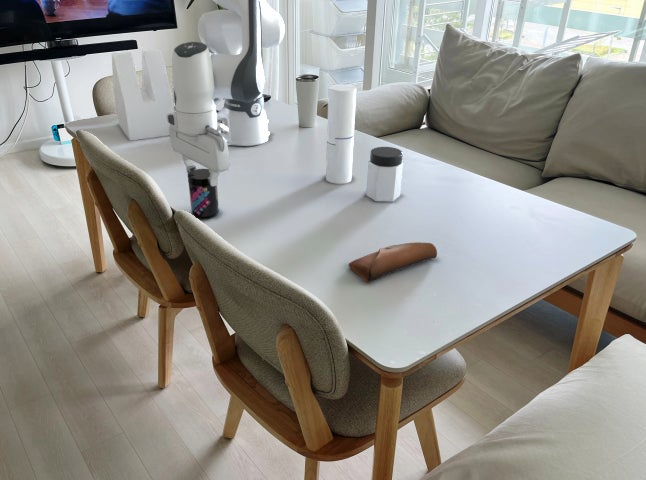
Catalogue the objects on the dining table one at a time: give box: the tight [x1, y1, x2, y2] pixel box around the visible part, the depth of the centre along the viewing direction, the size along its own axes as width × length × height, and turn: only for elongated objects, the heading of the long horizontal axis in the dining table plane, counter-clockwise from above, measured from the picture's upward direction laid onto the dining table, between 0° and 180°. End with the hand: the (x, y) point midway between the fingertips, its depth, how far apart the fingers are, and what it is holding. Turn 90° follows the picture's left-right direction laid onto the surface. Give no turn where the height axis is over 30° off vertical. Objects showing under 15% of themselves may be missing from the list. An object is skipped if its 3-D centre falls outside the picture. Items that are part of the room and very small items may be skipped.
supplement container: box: [187, 168, 220, 220], centre depth 142 cm, size 7×7×10 cm
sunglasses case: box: [348, 241, 438, 283], centre depth 123 cm, size 18×7×7 cm
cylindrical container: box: [325, 83, 357, 185], centre depth 158 cm, size 7×7×25 cm
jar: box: [365, 146, 404, 203], centre depth 152 cm, size 9×8×12 cm
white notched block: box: [111, 49, 175, 141], centre depth 195 cm, size 19×15×25 cm
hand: (202, 179), depth 140 cm, fingers open, 8 cm apart
